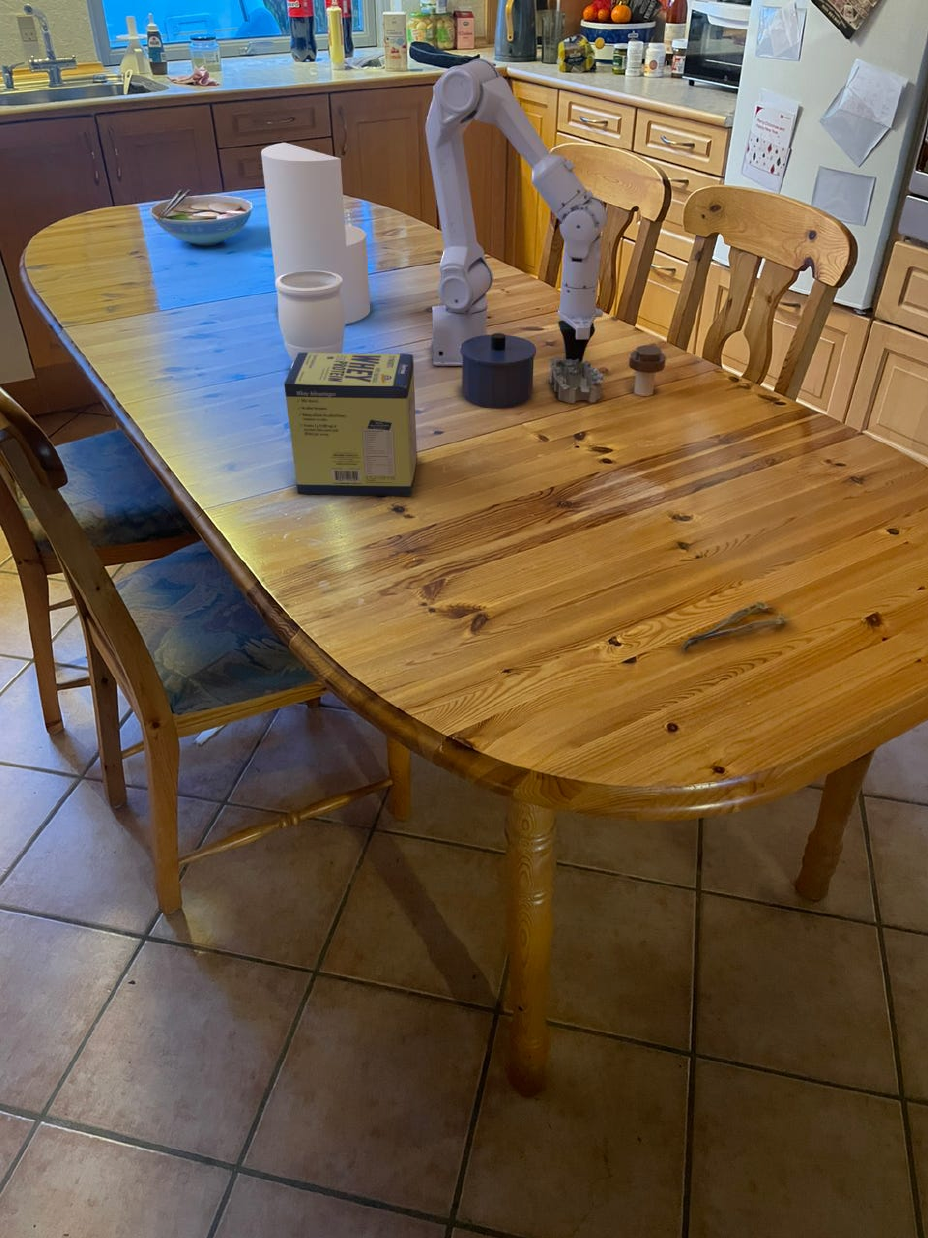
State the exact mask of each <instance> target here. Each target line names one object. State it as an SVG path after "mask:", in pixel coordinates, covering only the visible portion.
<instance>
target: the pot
mask: <svg viewBox="0 0 928 1238" xmlns="http://www.w3.org/2000/svg"><path fill="white" fill-rule="evenodd" d="M534 365H535V356H534V357H533V358H532V359H531V360H529V361H527V362H524V363H520V364H516V365H508V366H491V365H483V364H479V363H475V362H472V361H469V360H467V359H466V358H464V357H463V356H462V366H461V369H462V371H461V372H462V374H461V378H462V379H461V381H462V382H461V389H462V390H461V391H462V397H463V398H464V400H466V401H467V402H468V403H470V404H472V405H475V406H478V407H481V408H488V409H508V408H514V407H518V406H521V405H524V404H525V403H527V402H529V400H530V399H531V398H532V394H533V383H534V381H533V380H534Z"/></svg>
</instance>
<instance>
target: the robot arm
mask: <svg viewBox="0 0 928 1238" xmlns="http://www.w3.org/2000/svg"><path fill="white" fill-rule="evenodd" d="M432 88H433V97H432V101H431V104H430V107H429V111H428V113H427V114H428V116H427V118H426V122H425V137H426V142H427V149H428V154H429V161H430V168H431V173H432V180H433V185H434V186H433V187H434V193H435V198H436V205H437V210H438V211H437V212H438V216H439V217H438V218H439V224H440V229H441V236H442V243H443V252H442V256H441V260H440V264H439V272H440V279H439V282H438V286H437V294H438V298H439V300H440V302H441V303H442V304H440V305H434V306H432V339H431V340H430V348H431V349H430V350H431V351H432V352H433V354H432V355H433V356H432V357H433V360H432V361H433V366H434V367H462V355H461V353H460V346H461V344H462V343H463V342H465V341H466V340H468V339H470V338H473V337H477V336H482V335H488V300H487V293H488V292H489V291H490V290H491V288H492V286H493V282H494V273H493V270H492V269H491V267H490V265H489V263H488V262H487V259H486V255H485V250H484V249H483V247H482V246H481V244H479V242H478V240H477V233H476V226H475V218H474V212H473V205H472V198H471V191H470V183H469V176H468V169H467V162H466V155H465V148H464V141H463V134H464V132H465V131H466V129H467V128H468V126H470V124H471V123H472V121H477V122H483V123H486V124H490V125H494V126H497V127H498V128H499V130H500V131H501V132H502V134H503V135H504V136H505V137H506V138H507V140H508V142H510V143H511V145H512V146H513V147H514V148H515V150H516V151H517V152H518V153H519V155H520V157H522V158H523V159H524V161H525V162H526V163H527V165H528V166H529V167H530V168H531V184H532V186H533V187H534V188H535V190H536V191H537V192H538V194H539V195H540V197H541V198H542V199H543V201H544V202H545V203H546V205H547V206H548V208H549V209H550V210H551V212H552V213H553V215H554V216H555V217H556V218H557V219H558V220H559V221H560V224H559V232H560V235H561V237H562V239H563V241H564V245H563V254H562V267H561V282H560V296H559V308H558V310H557V317H558V318H560V319H561V320H559V321H558V322H557V325H558V328H559V331H560V333H561V336H562V340H563V346H564V348H563V349H564V357H565V358H564V359H566V360H568V359H572V360H576V359H579V362H581V363H583V358H584V355H585V352H586V349H587V347H588V344H589V342H590V340H591V339H592V337H593V336H594V334H595V331H596V327H595V323H594V321H595V320H596V319H597V318H602V317H603V316H604V311H603V309H601V308H597V301H598V287H599V277H600V265H601V247H602V235H601V233H603V231H604V230H605V228H606V226H607V223H608V211H607V209H606V206H605V204H604V201H603V200H602V199H601V198H599V197H597V196H594V194H593V192H592V191H591V189H588V190H587V189H586V187H585V186H584V184H583V183H582V181H581V180H580V179H579V177H578V176H577V175H576V173H575V172H574V168H576V166H575V164H574V163H573V161H572V160H571V159H568V160H566V159H565V157H564V156H563V155H560V154H555V153H551V152H550V150H549V148H548V147H547V146H546V144H545V143H544V141H543V139H542V137H540V135H539V133H538V132H537V130H536V129H535V127H534V125H533V124H532V122H531V121H530V119H529V118H528V116H527V115H526V113H525V111H524V110H523V108H522V106H521V105H520V103H519V102H518V101H517V98H516V97H515V95H514V93H513V91H512V88H511V87H510V85H509V83H508V80H506V79H505V78H504V77H503V76H500V74H499V71H498V69H497V67H496V66H495V64H493V63H492V62H491V61H489V60H487V59H485V58H475V59H472V60H470V61H469V62H466V63H463V64H461V65H454V66H451V67H449V68H448V69H447V70H445V71H444V73H443V74H442V75H441V76H440V78H438V80H437V81H436V82H435V84H434V85H433V87H432Z"/></svg>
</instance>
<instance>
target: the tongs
mask: <svg viewBox="0 0 928 1238" xmlns="http://www.w3.org/2000/svg"><path fill="white" fill-rule="evenodd" d="M769 610H773V606H769V605H767V603H765V602H764V601H756V602H755V603H753V604H752V605H749V606H746V607H743V608H741V609H739V610H736V611H734V612H732V613H731V614H729V615H728V616H726V617H725V618H723V620H721V621H720V622H719V623H718V624H717V625H715V626H714V627H712V628H711V629H708V630H707V631H704V632H703V633H701V634H697V635H694V636H691V637H690V638H688V639H687V640H685V642H684V644H683V646H682V652H685V651H686V650H687V649H688V648H690V647H692V646H695V645H699V644H701V643H704V642H708V641H712V640H715V639H719V638H720V639H721V638H725V637H728V636H732V635H734V634H742V633H753V632H755V631H759V630H762V629H766V628H770V627H774V626H777V625H782V624H783V623H785V622H787V621H788V619H787V618H785V617H784V616H783V613H779V614H778V616H777V617H776V618H768V619H765V620H755V621H753V622H749V623H747V624H744V625H740V626H738V627H735V628H734V627H733V628H730V629H729V628H728V629H724V628H725V627H727V626H728V625H731V624H736V623H738V622H740V621H741V620H742V619H743V618H744V617H747V616H748V615H751V614H753V613H758V612H763V613H766V612H769ZM722 629H724V630H722Z"/></svg>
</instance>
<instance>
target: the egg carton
mask: <svg viewBox="0 0 928 1238" xmlns="http://www.w3.org/2000/svg"><path fill="white" fill-rule="evenodd" d="M549 364H550V365H549V366H550V376H549V377H550V378H549V382H550V383H551V384H553V386H554V387H553V389H554V390H553V391H554V392H555V393H558V395H557V396H558V397H557V399H558V401H562V402H566V403H567V404H575V403H576V402H577V401H586V402H588V403H589V404H590V403H596V402H597V401H598V400H600V399H601V397H602V393H603V384H602V383H603V382H605V380H604V374H603V373H602V372H600V371H599V369H597V368H596V367H594V366H592V363H591V362H590V361H589V360H585V362H579V359H576V360H572V359H568V360H566V358H562V359H559V358H558V359H557V358H554V357H549Z"/></svg>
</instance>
